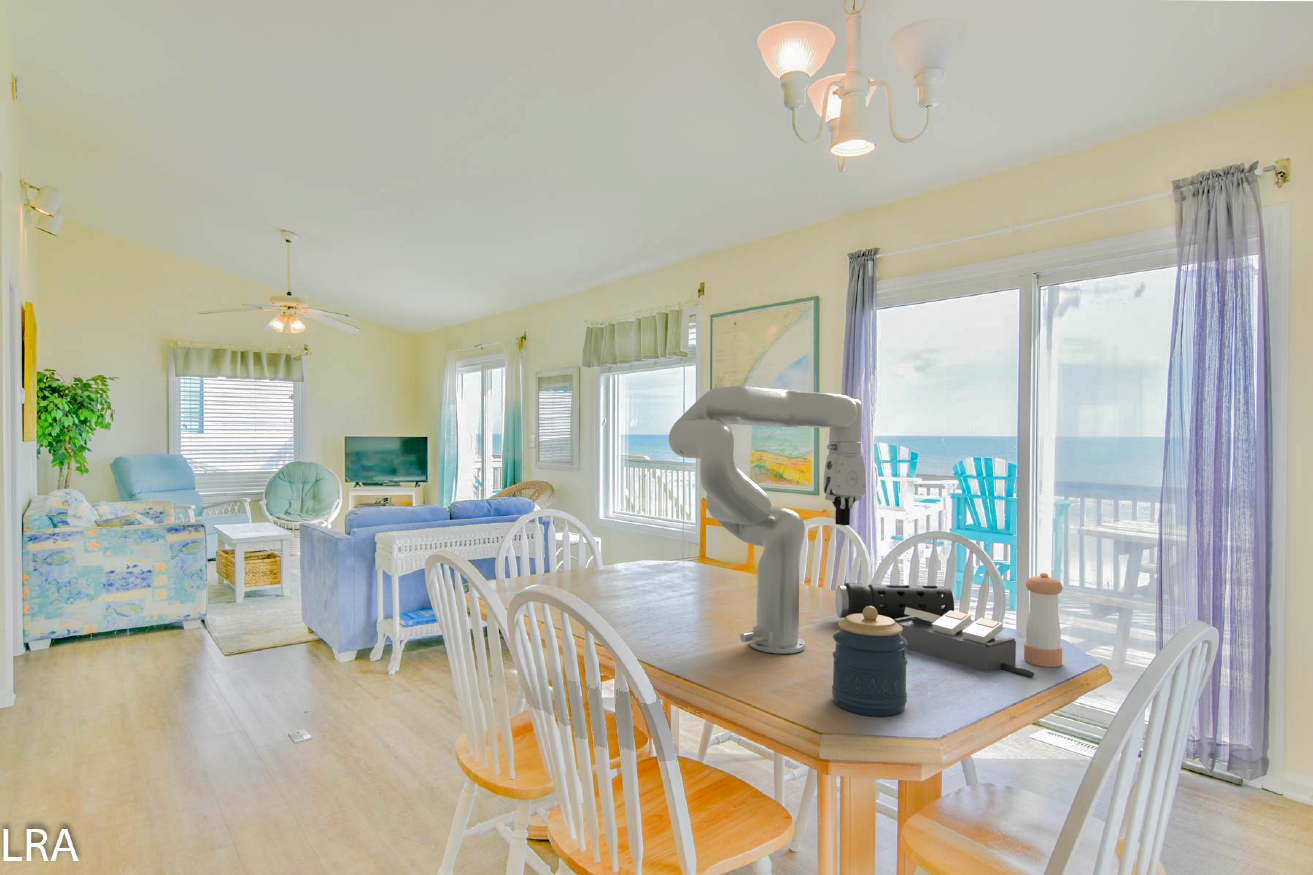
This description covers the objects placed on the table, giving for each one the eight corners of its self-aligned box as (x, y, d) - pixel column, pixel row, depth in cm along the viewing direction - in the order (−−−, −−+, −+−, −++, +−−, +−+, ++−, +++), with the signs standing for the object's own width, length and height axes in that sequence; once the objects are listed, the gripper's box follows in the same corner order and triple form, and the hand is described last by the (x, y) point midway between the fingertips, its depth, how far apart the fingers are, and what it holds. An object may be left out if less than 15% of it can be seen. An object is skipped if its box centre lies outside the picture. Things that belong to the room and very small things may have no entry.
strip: (1019, 682, 144) (1020, 653, 144) (892, 643, 170) (892, 618, 170) (1047, 673, 150) (1047, 645, 150) (919, 637, 175) (920, 613, 175)
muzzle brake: (954, 630, 183) (955, 588, 183) (842, 627, 184) (843, 586, 184) (940, 620, 193) (941, 581, 193) (834, 618, 193) (834, 579, 193)
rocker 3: (984, 643, 152) (983, 636, 152) (963, 638, 157) (961, 630, 156) (1003, 629, 156) (1002, 622, 156) (981, 624, 160) (980, 617, 160)
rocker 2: (953, 635, 159) (951, 628, 158) (933, 630, 163) (931, 623, 163) (971, 621, 162) (970, 614, 162) (951, 616, 167) (950, 609, 166)
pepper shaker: (1023, 663, 156) (1025, 574, 156) (1024, 654, 162) (1025, 569, 162) (1062, 669, 152) (1064, 577, 152) (1061, 659, 159) (1063, 572, 159)
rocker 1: (922, 618, 165) (923, 610, 165) (904, 613, 169) (905, 606, 169) (940, 623, 168) (942, 616, 169) (922, 618, 173) (923, 611, 173)
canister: (833, 687, 140) (835, 595, 139) (905, 695, 136) (906, 601, 136) (829, 712, 127) (831, 611, 127) (908, 721, 123) (909, 617, 123)
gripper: (832, 449, 171) (830, 527, 171) (878, 450, 178) (876, 525, 178) (810, 448, 177) (808, 523, 177) (855, 449, 185) (853, 522, 185)
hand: (842, 524), depth 178 cm, fingers closed
